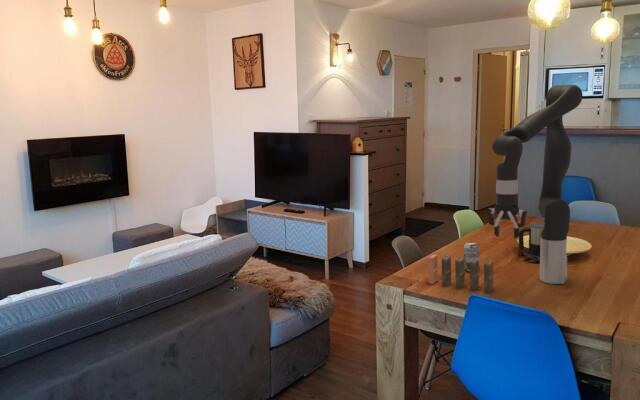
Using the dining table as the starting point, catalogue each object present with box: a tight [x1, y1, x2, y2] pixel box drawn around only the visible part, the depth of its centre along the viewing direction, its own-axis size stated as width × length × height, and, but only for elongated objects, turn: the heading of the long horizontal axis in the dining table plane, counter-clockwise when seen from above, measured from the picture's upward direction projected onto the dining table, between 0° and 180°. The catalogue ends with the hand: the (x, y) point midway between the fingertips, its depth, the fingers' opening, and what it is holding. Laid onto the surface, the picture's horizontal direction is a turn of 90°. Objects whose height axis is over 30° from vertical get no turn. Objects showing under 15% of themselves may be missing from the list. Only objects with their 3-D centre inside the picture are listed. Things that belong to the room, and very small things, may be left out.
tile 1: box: [483, 260, 494, 294], centre depth 193 cm, size 2×5×11 cm, turn 146°
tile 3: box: [454, 256, 466, 289], centre depth 199 cm, size 2×5×11 cm, turn 146°
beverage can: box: [463, 242, 480, 272], centre depth 217 cm, size 6×7×12 cm
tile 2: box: [469, 258, 480, 292], centre depth 196 cm, size 2×5×11 cm, turn 146°
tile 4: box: [441, 255, 452, 287], centre depth 202 cm, size 2×5×11 cm, turn 146°
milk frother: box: [518, 222, 544, 263], centre depth 229 cm, size 14×16×15 cm
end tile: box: [427, 254, 439, 285], centre depth 205 cm, size 2×5×11 cm, turn 147°
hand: (506, 236), depth 186 cm, fingers open, 5 cm apart
